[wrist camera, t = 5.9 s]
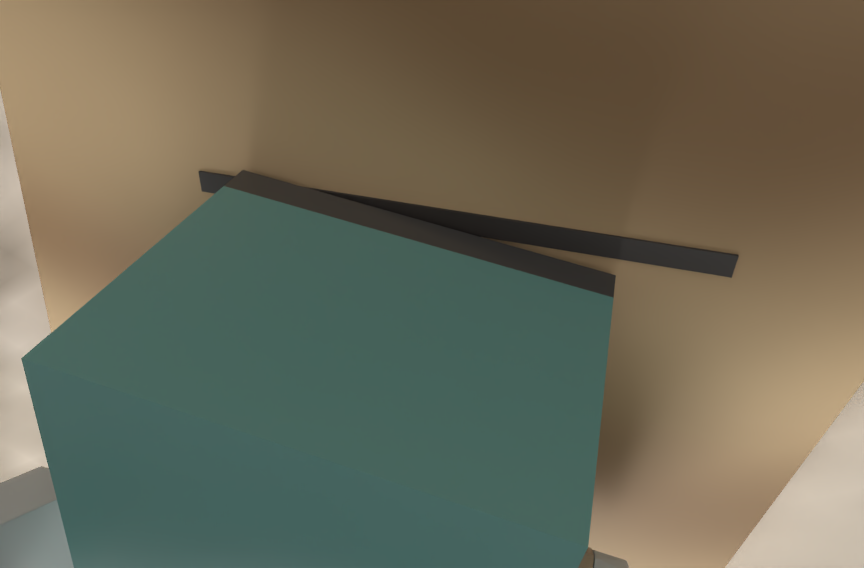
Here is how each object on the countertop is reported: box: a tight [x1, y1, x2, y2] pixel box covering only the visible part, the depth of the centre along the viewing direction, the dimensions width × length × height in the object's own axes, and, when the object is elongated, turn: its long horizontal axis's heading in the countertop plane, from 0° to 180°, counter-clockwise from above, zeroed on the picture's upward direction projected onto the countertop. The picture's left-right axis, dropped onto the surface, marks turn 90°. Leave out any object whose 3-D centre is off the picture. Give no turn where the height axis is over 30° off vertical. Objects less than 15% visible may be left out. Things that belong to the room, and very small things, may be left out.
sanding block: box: [21, 170, 616, 568], centre depth 10 cm, size 9×5×4 cm, turn 173°
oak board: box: [0, 0, 864, 568], centre depth 11 cm, size 25×12×2 cm, turn 173°
